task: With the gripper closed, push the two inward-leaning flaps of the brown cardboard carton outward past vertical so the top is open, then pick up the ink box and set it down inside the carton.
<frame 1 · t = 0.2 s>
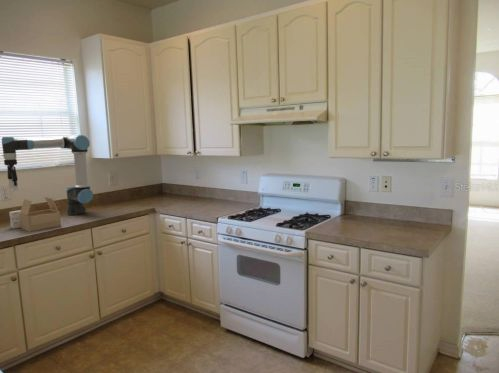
hand: (13, 189, 268), 28 cm above the worktop, tool pointing down, fingers open, 13 cm apart
flap 2: (51, 203, 278), point 16 cm above the worktop, hinge at -20.0°
carton: (41, 227, 274), on the worktop
ink box: (18, 227, 276), on the worktop
flap 1: (25, 207, 265), point 16 cm above the worktop, hinge at -20.0°
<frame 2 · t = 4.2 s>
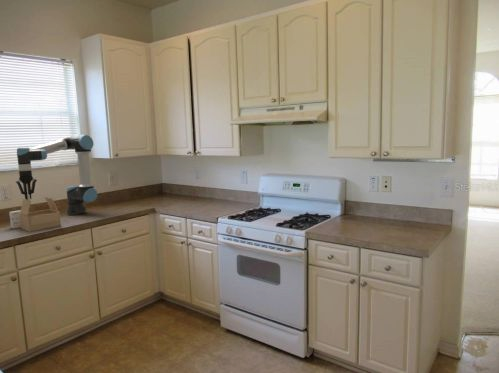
hand: (28, 203, 266), 18 cm above the worktop, tool pointing down, fingers closed
flap 1: (25, 207, 265), point 16 cm above the worktop, hinge at -17.4°, touching gripper
everything else where it was.
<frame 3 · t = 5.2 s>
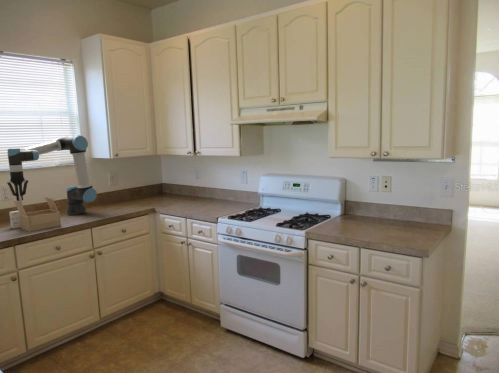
hand: (20, 205, 262), 18 cm above the worktop, tool pointing down, fingers closed
flap 1: (20, 207, 263), point 16 cm above the worktop, hinge at 17.4°, touching gripper
everything else where it was.
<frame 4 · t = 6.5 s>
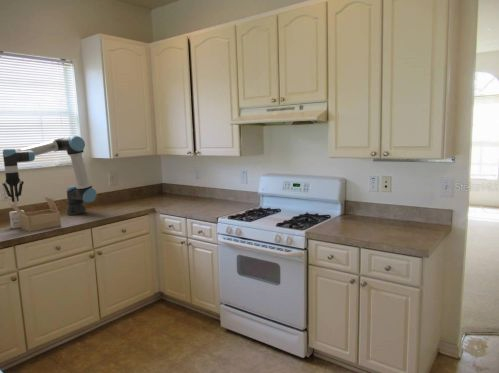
hand: (15, 206, 260), 18 cm above the worktop, tool pointing down, fingers closed
flap 1: (17, 209, 261), point 15 cm above the worktop, hinge at 37.9°, touching gripper
everything else where it was.
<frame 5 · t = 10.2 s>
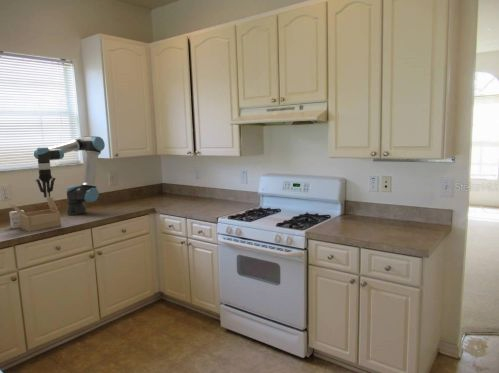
hand: (47, 201, 276), 18 cm above the worktop, tool pointing down, fingers closed
flap 2: (51, 203, 278), point 16 cm above the worktop, hinge at -18.1°, touching gripper
flap 1: (17, 209, 261), point 15 cm above the worktop, hinge at 37.9°
everything else where it was.
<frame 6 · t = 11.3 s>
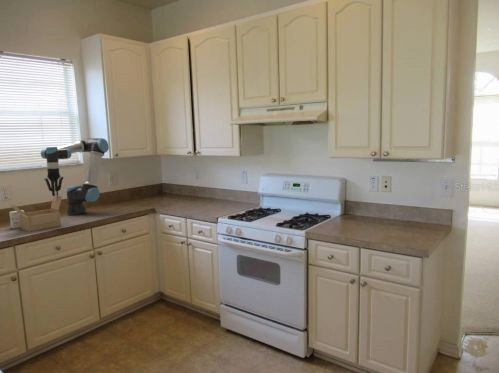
hand: (55, 200, 280), 18 cm above the worktop, tool pointing down, fingers closed
flap 2: (56, 202, 280), point 16 cm above the worktop, hinge at 18.2°, touching gripper
everything else where it was.
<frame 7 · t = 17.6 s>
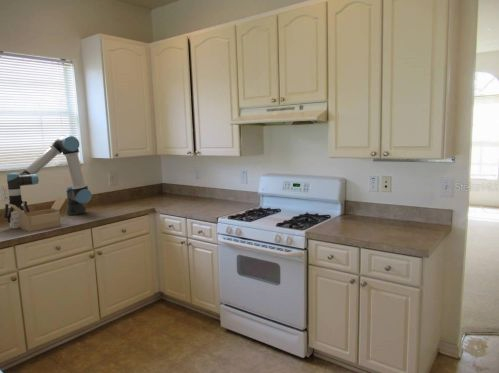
hand: (18, 225, 275), 1 cm above the worktop, tool pointing down, fingers closed on ink box, 9 cm apart
flap 2: (58, 203, 282), point 15 cm above the worktop, hinge at 37.2°
ink box: (18, 227, 276), on the worktop, touching gripper
everything else where it was.
when the fingers open (4 cm above the worktop, at t = 24.9 s): ink box drops 2 cm, resting on carton.
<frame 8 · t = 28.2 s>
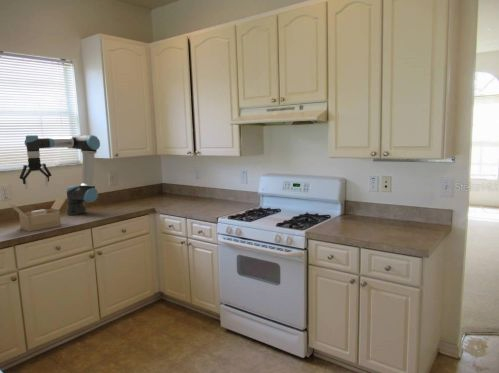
hand: (36, 187, 270), 29 cm above the worktop, tool pointing down, fingers open, 13 cm apart
ink box: (40, 226, 274), resting on carton
everything else where it was.
at the end: flap 1 at +38° (first picture: -20°); flap 2 at +37° (first picture: -20°); ink box inside the target area on the carton (0.3 cm from its centre), point 0.4 cm above the carton's base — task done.
